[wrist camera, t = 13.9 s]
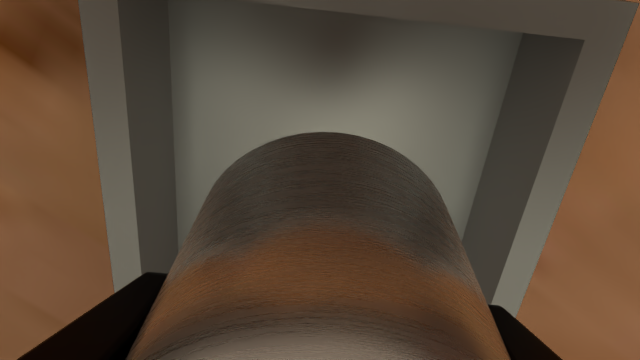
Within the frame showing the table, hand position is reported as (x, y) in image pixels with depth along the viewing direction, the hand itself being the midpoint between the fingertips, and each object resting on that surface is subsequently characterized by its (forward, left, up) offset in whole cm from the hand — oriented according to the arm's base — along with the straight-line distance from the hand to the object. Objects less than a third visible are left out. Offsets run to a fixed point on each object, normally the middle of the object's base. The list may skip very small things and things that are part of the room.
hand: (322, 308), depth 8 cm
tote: (-4, 0, -12) cm, 12 cm away
